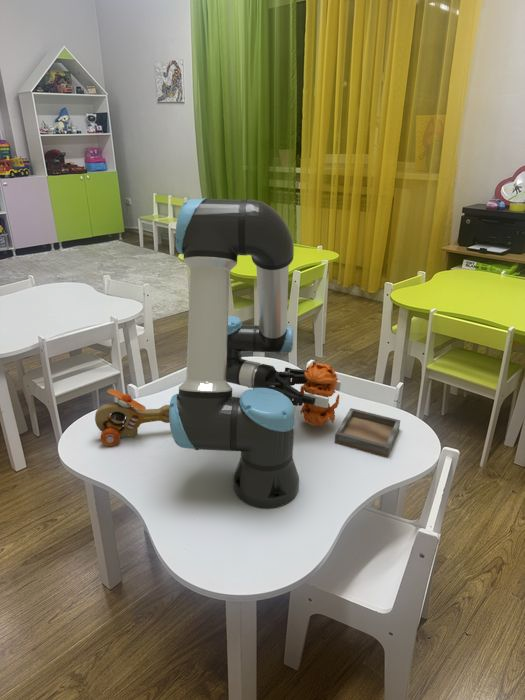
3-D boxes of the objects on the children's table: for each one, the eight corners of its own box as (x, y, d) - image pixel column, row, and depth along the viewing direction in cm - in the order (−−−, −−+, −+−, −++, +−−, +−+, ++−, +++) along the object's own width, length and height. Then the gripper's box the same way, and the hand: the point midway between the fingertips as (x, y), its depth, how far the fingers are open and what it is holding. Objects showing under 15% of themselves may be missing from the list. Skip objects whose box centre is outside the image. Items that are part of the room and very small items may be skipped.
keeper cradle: (387, 457, 120) (389, 448, 119) (334, 442, 126) (335, 433, 125) (398, 429, 132) (400, 420, 131) (349, 416, 137) (350, 408, 136)
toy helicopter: (99, 430, 129) (93, 386, 124) (177, 422, 134) (174, 379, 128) (97, 448, 122) (89, 402, 116) (179, 439, 126) (175, 394, 121)
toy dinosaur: (289, 424, 130) (293, 364, 123) (305, 406, 139) (309, 350, 132) (328, 436, 125) (334, 374, 118) (342, 416, 134) (348, 358, 127)
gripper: (274, 372, 146) (345, 388, 137) (240, 405, 128) (319, 427, 119) (275, 350, 143) (347, 365, 134) (239, 380, 125) (321, 400, 116)
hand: (334, 394), depth 126 cm, fingers closed on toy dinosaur, 9 cm apart
